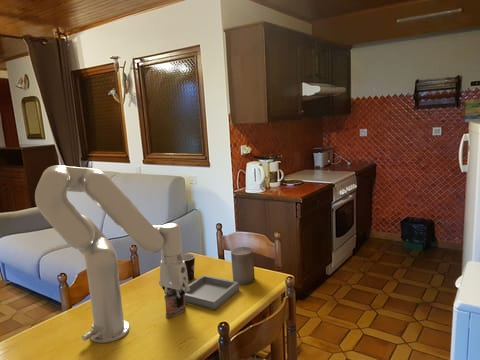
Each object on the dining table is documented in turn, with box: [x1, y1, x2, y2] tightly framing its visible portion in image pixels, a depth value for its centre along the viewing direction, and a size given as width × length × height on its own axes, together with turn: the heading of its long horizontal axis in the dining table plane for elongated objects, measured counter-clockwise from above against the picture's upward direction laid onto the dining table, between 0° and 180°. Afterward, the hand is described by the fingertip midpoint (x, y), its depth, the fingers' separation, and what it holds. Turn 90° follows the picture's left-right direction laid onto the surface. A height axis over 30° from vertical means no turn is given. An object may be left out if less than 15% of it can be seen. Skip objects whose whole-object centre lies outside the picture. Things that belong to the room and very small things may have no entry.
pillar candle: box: [230, 246, 256, 286], centre depth 158 cm, size 10×10×15 cm
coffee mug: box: [182, 253, 196, 282], centre depth 162 cm, size 12×9×10 cm
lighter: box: [163, 289, 187, 318], centre depth 133 cm, size 8×3×10 cm, turn 131°
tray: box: [184, 274, 240, 312], centre depth 146 cm, size 18×18×4 cm
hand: (175, 304), depth 134 cm, fingers closed on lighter, 4 cm apart
